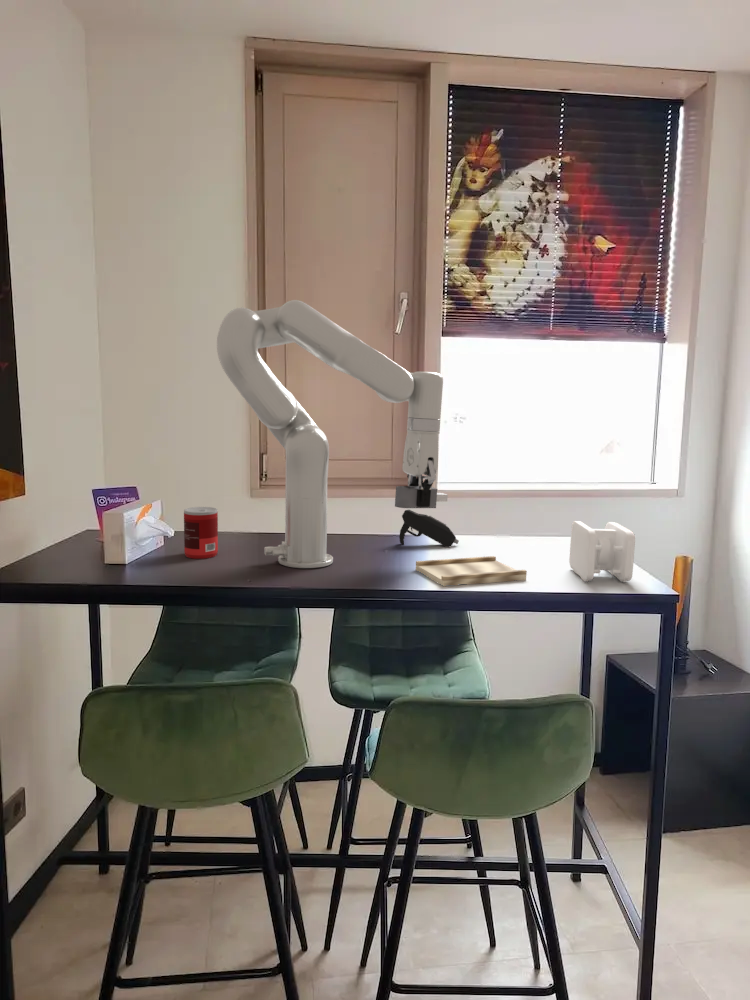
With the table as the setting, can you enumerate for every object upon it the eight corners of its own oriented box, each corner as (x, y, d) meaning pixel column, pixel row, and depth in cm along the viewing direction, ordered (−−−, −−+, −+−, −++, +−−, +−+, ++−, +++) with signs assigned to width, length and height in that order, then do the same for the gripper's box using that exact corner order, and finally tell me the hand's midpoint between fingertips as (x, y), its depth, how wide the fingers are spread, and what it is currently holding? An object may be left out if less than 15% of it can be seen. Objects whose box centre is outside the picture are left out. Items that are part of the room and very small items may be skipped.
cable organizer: (566, 567, 166) (570, 518, 165) (611, 568, 166) (615, 519, 165) (585, 584, 152) (589, 531, 150) (634, 586, 152) (639, 532, 150)
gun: (444, 567, 185) (463, 535, 184) (390, 538, 184) (409, 505, 183) (443, 565, 188) (462, 532, 187) (390, 535, 187) (408, 503, 186)
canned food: (220, 551, 172) (220, 507, 170) (214, 559, 164) (213, 512, 163) (188, 551, 172) (188, 506, 170) (180, 558, 164) (180, 512, 162)
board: (443, 586, 147) (443, 577, 147) (415, 569, 160) (415, 561, 159) (526, 579, 154) (526, 570, 154) (493, 564, 167) (493, 556, 167)
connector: (399, 508, 161) (400, 488, 161) (391, 505, 166) (393, 485, 165) (448, 508, 166) (449, 489, 165) (439, 504, 170) (441, 486, 169)
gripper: (394, 423, 169) (389, 499, 172) (424, 428, 154) (418, 511, 156) (423, 424, 172) (418, 499, 175) (455, 429, 156) (449, 511, 159)
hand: (418, 504), depth 165 cm, fingers closed on connector, 4 cm apart
